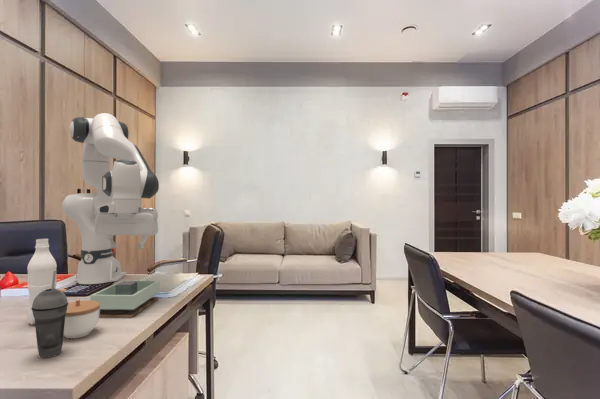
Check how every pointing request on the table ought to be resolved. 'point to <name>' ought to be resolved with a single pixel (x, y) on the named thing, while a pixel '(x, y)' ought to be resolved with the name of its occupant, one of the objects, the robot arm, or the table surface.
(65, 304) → the beverage cup
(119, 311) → the track
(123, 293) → the metal block
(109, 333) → the table surface
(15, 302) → the table surface
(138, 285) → the mint green tray
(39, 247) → the water bottle
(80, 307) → the lidded jar
